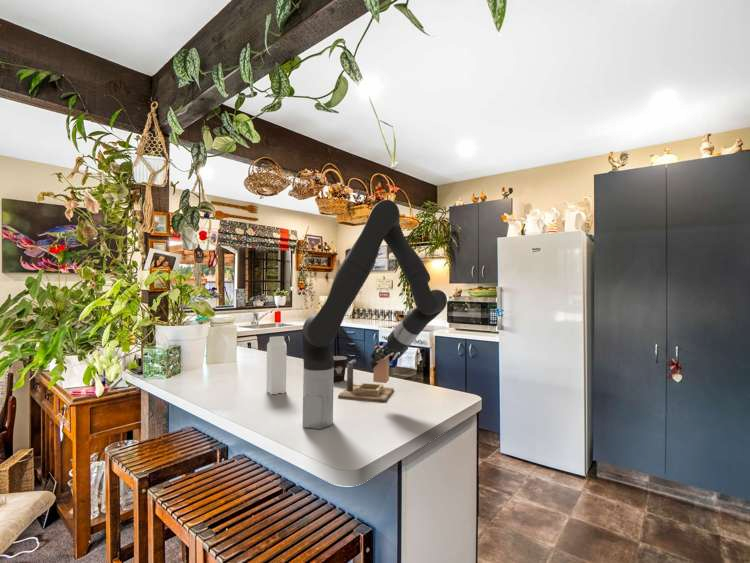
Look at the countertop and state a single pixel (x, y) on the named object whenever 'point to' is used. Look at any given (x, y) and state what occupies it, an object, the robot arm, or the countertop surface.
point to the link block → (381, 370)
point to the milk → (276, 365)
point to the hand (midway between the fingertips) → (378, 364)
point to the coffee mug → (339, 368)
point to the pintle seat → (364, 389)
